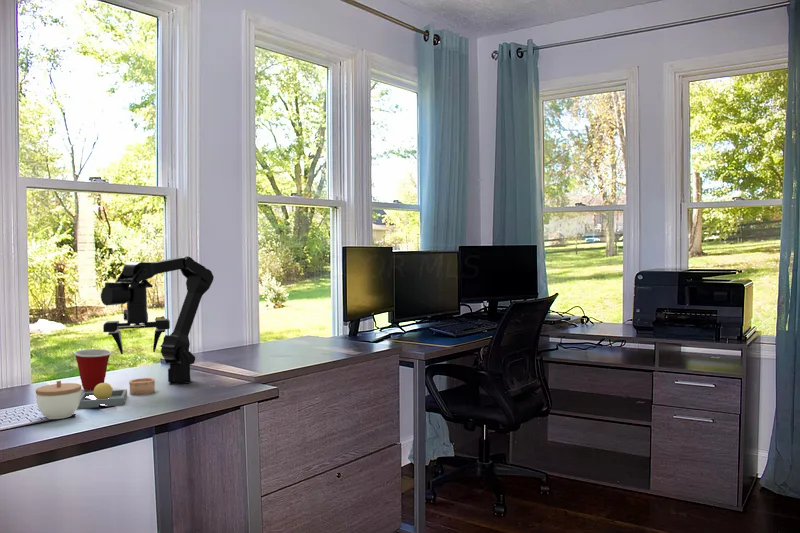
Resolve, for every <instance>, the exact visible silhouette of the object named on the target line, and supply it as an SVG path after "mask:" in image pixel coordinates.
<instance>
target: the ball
mask: <svg viewBox="0 0 800 533" xmlns="http://www.w3.org/2000/svg"><path fill="white" fill-rule="evenodd" d="M112 390H113V387H112V386H111V384H109V383H107V382H104V383H100V384H98V385H96V387H95V388H94V390H92V392H93V393H94V396H95V397H96V398H97V399H108V398H109V397H110V396H111V395H112Z"/></svg>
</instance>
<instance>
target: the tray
mask: <svg viewBox="0 0 800 533" xmlns="http://www.w3.org/2000/svg"><path fill="white" fill-rule="evenodd" d="M89 395H94V393H93V391H86V392H81V400H80V404H79V407H78V408H77V410H78V409H79V410H80V409H90V408H100V407H99V405H100V404H105V405H108V406H107V407H115V406H116V407H117V406H124V405H125V403H126V400H127V398H128V389H114V390H113V389H112V395H111V396H110V397H109V399H96V400H85V397H86V396H89Z"/></svg>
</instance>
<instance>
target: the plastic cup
mask: <svg viewBox="0 0 800 533" xmlns="http://www.w3.org/2000/svg"><path fill="white" fill-rule="evenodd" d="M111 354H112V351H111V350H108V349H102V348H100V349H99V348H97V349H96V348H93V349H92V348H91V349H89V348H88V349H80V350H76V351H74V352H73V355H74V356H75V359H76V363H77V367H78V372H79V377H80V381H81V388H83V390H84V391H94V388H95V387H96V385H98V384H100V383H105V379H106V375H107V368H108V362H109V359H110V356H111Z"/></svg>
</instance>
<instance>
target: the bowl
mask: <svg viewBox="0 0 800 533" xmlns="http://www.w3.org/2000/svg"><path fill="white" fill-rule="evenodd" d="M155 380H156V379H155V378H151V377H143V378H142V377H141V378H135V379H130V380H129V382H128V385H129V395H133V396H134V395H136V396H138V395H142V396H143V395H149V394H152V393H154V392H156V390H155V389H156V385H155V384H156V383H155Z"/></svg>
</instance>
